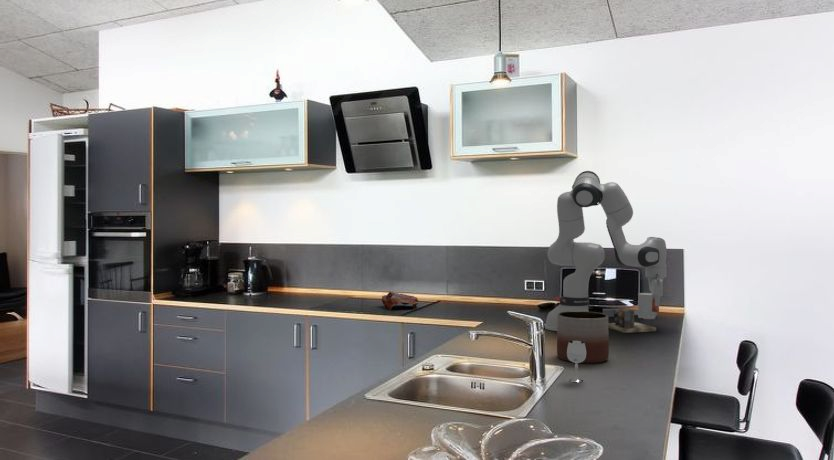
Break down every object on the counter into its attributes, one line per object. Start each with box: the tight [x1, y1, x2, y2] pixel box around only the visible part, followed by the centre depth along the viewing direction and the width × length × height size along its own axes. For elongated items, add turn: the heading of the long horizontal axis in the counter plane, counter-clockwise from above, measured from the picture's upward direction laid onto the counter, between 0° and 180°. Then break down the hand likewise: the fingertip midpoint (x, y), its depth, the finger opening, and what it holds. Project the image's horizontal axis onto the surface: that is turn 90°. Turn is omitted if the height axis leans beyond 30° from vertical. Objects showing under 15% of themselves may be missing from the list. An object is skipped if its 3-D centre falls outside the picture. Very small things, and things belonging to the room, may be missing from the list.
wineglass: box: [567, 341, 586, 384], centre depth 186 cm, size 6×6×12 cm
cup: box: [637, 292, 656, 320], centre depth 305 cm, size 8×8×12 cm
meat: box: [381, 290, 419, 311], centre depth 341 cm, size 21×21×10 cm
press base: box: [608, 309, 657, 334], centre depth 274 cm, size 16×15×9 cm
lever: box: [602, 299, 660, 318], centre depth 275 cm, size 24×4×8 cm, turn 76°
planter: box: [556, 311, 610, 364], centre depth 216 cm, size 18×18×16 cm
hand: (655, 304), depth 272 cm, fingers open, 8 cm apart
